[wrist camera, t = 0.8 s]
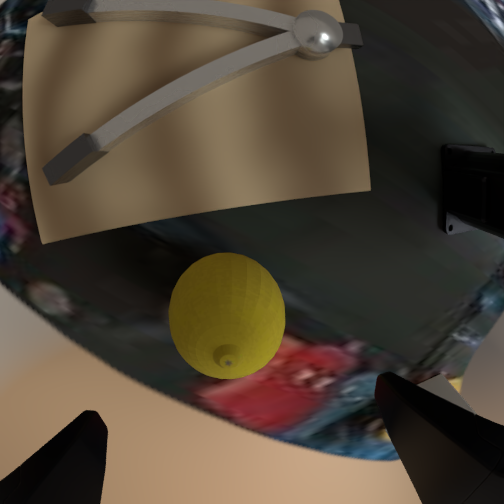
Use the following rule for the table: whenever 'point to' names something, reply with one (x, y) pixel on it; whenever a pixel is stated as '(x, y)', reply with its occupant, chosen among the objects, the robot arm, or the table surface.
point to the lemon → (227, 316)
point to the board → (186, 122)
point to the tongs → (201, 79)
